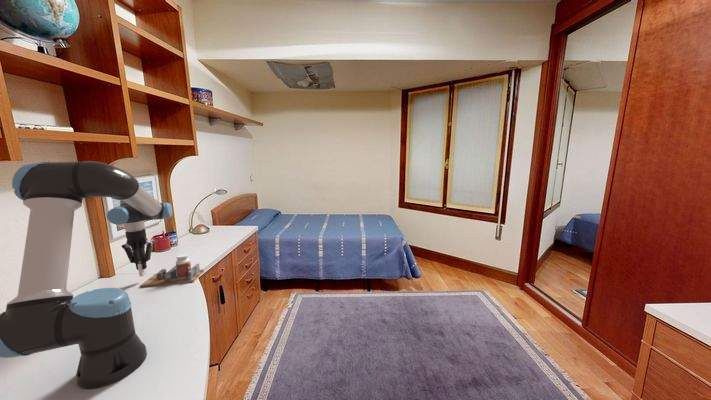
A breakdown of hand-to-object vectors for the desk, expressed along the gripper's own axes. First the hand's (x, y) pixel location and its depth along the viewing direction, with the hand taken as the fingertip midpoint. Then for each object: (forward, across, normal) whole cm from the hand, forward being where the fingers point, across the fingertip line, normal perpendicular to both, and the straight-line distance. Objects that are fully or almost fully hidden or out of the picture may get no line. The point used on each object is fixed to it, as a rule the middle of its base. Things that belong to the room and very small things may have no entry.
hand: (142, 275), depth 129 cm
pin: (+3, -10, 0) cm, 10 cm away
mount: (+4, -14, 0) cm, 14 cm away
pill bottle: (+3, -19, 0) cm, 19 cm away
